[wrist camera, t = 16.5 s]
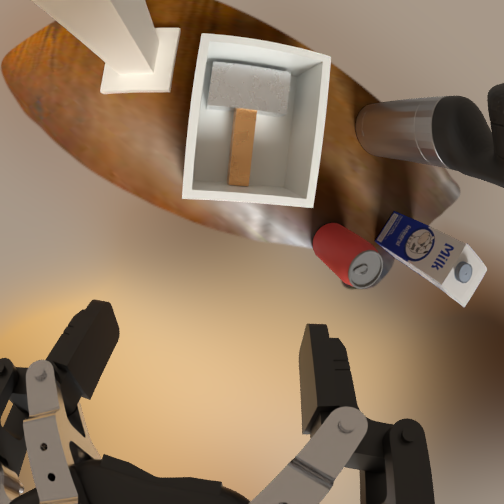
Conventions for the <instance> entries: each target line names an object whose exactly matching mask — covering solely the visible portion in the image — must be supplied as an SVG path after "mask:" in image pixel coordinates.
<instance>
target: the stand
mask: <svg viewBox="0 0 504 504" xmlns="http://www.w3.org/2000/svg"><path fill="white" fill-rule="evenodd" d="M31 1H32V2H33V3H34V4H36V5H37V6H38V7H40V8H41V9H42V10H44V11H45V12H46V13H47V14H48V15H50V16H51V17H52V18H53V19H55V20H56V21H57V22H58V23H60V24H61V25H62V26H63V27H64V28H66V29H67V30H68V31H69V32H70V33H72V34H73V35H74V36H75V37H76V38H78V39H79V40H80V41H81V42H82V43H83V44H85V45H86V46H87V47H88V48H89V49H90V50H92V51H93V52H94V53H95V54H96V55H97V56H99V57H100V58H101V59H102V60H103V61H104V62H105V67H104V72H103V78H102V84H101V90H100V92H101V93H102V94H112V93H134V92H170V91H171V84H172V77H173V71H174V65H175V59H176V53H177V48H178V43H179V37H180V33H181V31H180V28H154V25H153V22H152V19H151V16H150V13H149V10H148V8H147V5H146V2H145V0H31Z"/></svg>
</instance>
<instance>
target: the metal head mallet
mask: <svg viewBox="0 0 504 504" xmlns="http://www.w3.org/2000/svg"><path fill="white" fill-rule="evenodd" d="M290 79H291V73H290V72H285V71H280V70H274V69H269V68H263V67H256V66H250V65H242V64H234V63H225V62H214V61H213V66H212V71H211V78H210V85H209V93H208V101H207V109H209V110H222V111H232V112H234V117H233V125H232V135H231V144H230V153H229V163H228V173H227V183H228V185H238V186H249V179H250V169H251V160H252V151H253V142H254V134H255V125H256V116H257V114H258V115H265V116H272V117H281V116H284V115H287V106H288V97H289V88H290Z"/></svg>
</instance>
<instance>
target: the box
mask: <svg viewBox="0 0 504 504" xmlns="http://www.w3.org/2000/svg"><path fill="white" fill-rule="evenodd" d="M213 61H214V62H225V63H234V64H242V65H250V66H256V67H263V68H269V69H274V70H280V71H285V72H290V73H291V79H290V88H289V97H288V106H287V115H284V116H281V117H272V116H265V115H258V114H257V116H256V125H255V134H254V142H253V151H252V160H251V169H250V179H249V186H238V185H228V183H227V173H228V163H229V153H230V144H231V135H232V125H233V117H234V112H232V111H222V110H209V109H207V101H208V93H209V85H210V78H211V71H212V66H213ZM330 64H331V56H327V55H324V54H320V53H317V52H313V51H309V50H305V49H301V48H297V47H293V46H289V45H284V44H279V43H274V42H269V41H264V40H258V39H251V38H244V37H237V36H229V35H219V34H207V33H202V35H201V40H200V46H199V51H198V57H197V63H196V70H195V76H194V83H193V90H192V98H191V106H190V114H189V123H188V132H187V142H186V153H185V164H184V177H183V192H182V199H201V200H219V201H235V202H249V203H262V204H274V205H286V206H296V207H307V208H313V205H314V199H315V192H316V186H317V179H318V172H319V165H320V157H321V150H322V142H323V134H324V125H325V116H326V107H327V97H328V87H329V76H330Z"/></svg>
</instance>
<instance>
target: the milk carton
mask: <svg viewBox="0 0 504 504" xmlns="http://www.w3.org/2000/svg"><path fill="white" fill-rule="evenodd" d="M375 242H377V243H378V244H379V245H380V246H381V247H382V248H384V249H385V250H386V251H387V252H388V253H390V254H391V255H392V256H393V257H394V258H396V259H397V260H399V261H400V262H402V263H403V264H405V265H406V266H408V267H409V268H411V269H412V270H414V271H415V272H417V273H418V274H420V275H421V276H422V277H424V278H425V279H427V280H428V281H430V282H431V283H432V284H434V285H435V286H437V287H438V288H439V289H441V290H442V291H444V292H445V293H446V294H447V295H448V296H450V297H451V298H453V299H454V300H455V301H457V302H458V303H459V304H461V305H462V306H463V307H465V306H466V304H467V303H468V301H469V299H470V298H471V296H472V295H473V293H474V291H475V290H476V288H477V286H478V285H479V283H480V281H481V280H482V278H483V276H484V274H485V273H486V271H487V268H486V266H485V265H484V264H483V262H482V260H481V259H480V258H479V257H478V255H477V254H476V253H475V252H474V251H473V250H472V248H471V247H470V246H469V245H468V244H465V243H463V242H461V241H459V240H457V239H455V238H453V237H451V236H449V235H447V234H445V233H443V232H441V231H438V230H436V229H434V228H432V227H430V226H428V225H425V224H423V223H421V222H419V221H416V220H414V219H412V218H410V217H407V216H405V215H403V214H400V213H398V212H395V211H394V212H393V213H392V215H391V217H390V218H389V220H388V221H387V223H386V224H385V226H384V228H383V229H382V231H381V232H380V234H379V235H378V237H377V238H376V240H375Z"/></svg>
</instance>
